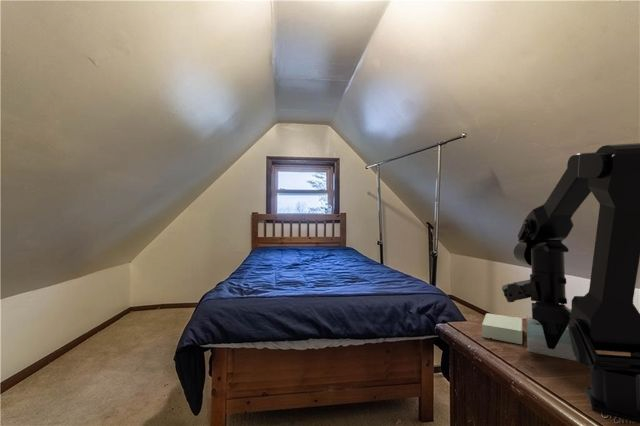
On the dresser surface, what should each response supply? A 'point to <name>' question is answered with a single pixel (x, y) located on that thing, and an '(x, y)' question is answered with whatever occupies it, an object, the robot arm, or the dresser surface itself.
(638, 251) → the robot arm
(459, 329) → the dresser surface
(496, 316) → the sage stand
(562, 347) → the grey-blue rectangular block
